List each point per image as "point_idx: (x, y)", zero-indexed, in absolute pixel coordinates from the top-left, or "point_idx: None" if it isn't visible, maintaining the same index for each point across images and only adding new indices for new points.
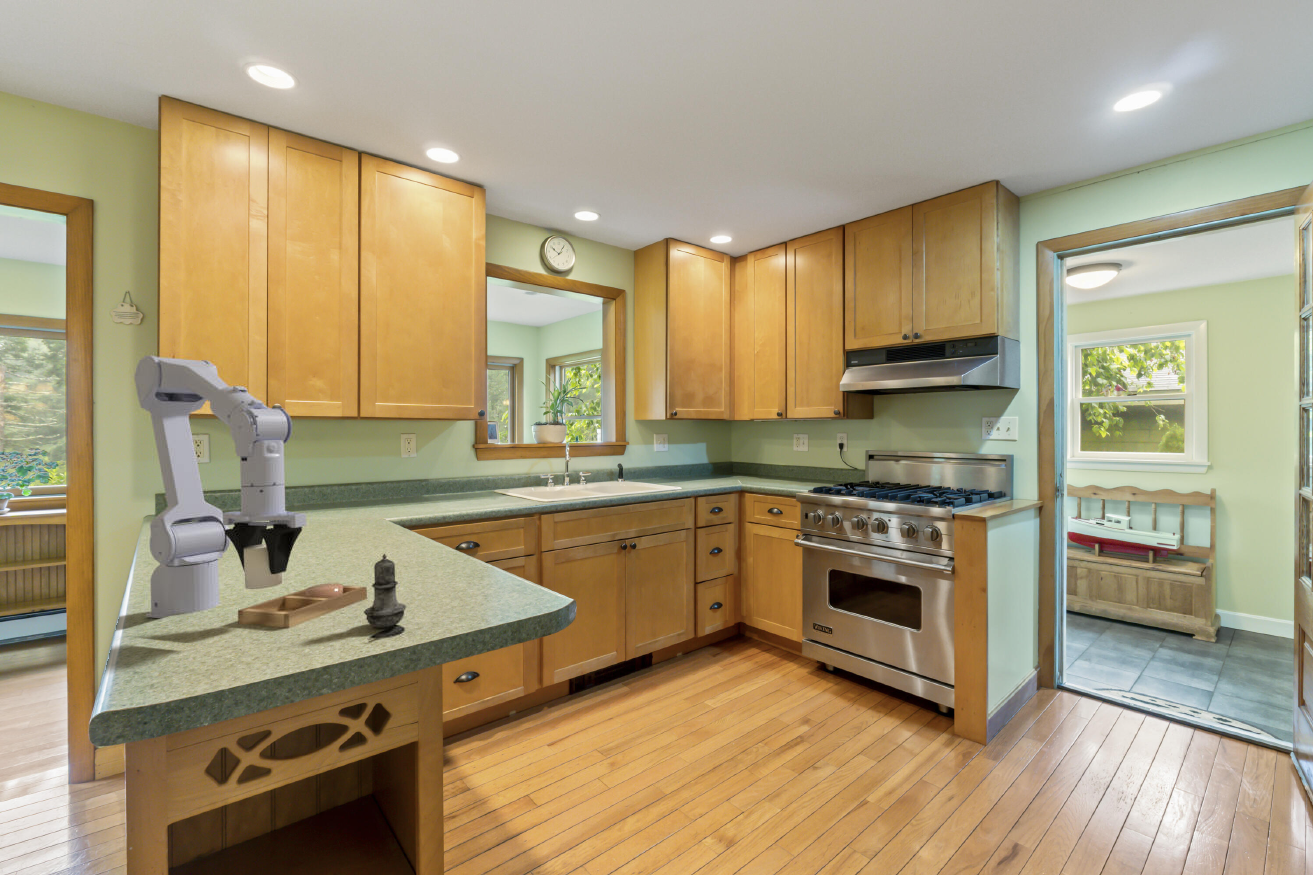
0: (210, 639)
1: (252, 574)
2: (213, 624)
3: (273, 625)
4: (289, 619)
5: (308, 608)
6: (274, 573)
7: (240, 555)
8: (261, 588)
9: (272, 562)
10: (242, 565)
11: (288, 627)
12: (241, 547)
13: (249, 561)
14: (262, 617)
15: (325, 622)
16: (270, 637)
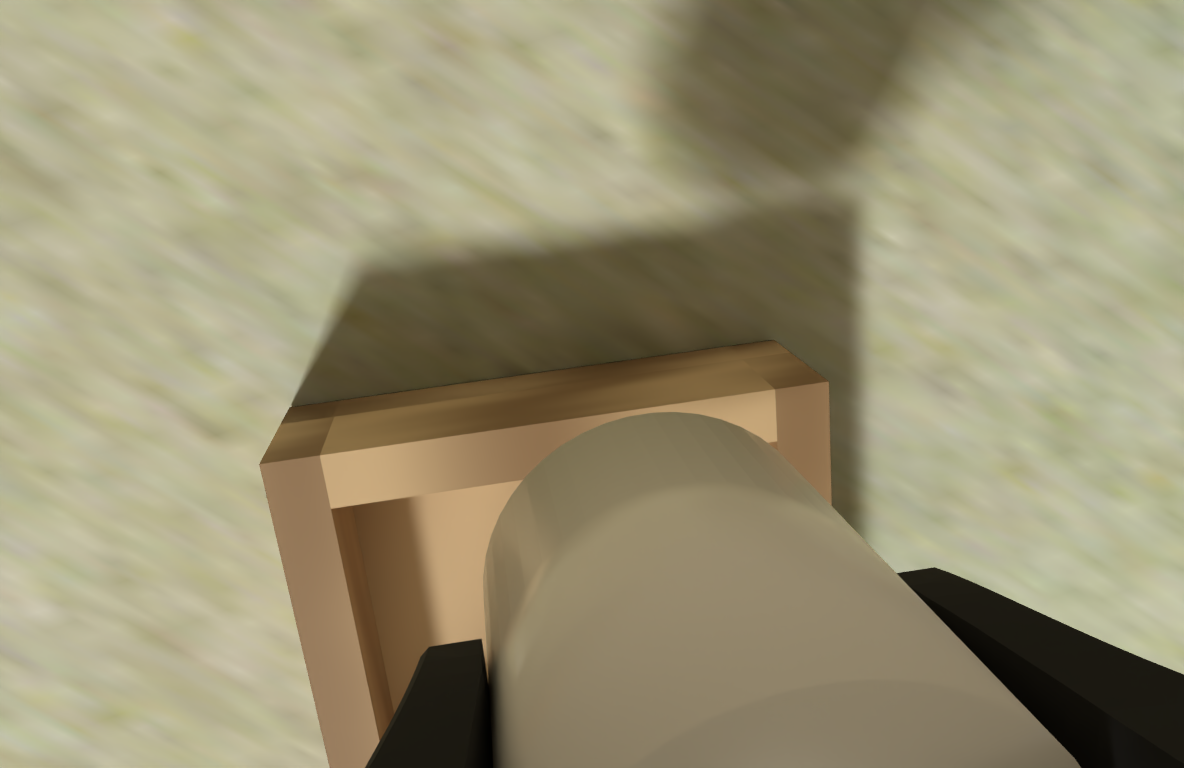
0: (759, 121)
1: (632, 493)
2: (1055, 346)
3: (440, 401)
4: (270, 450)
5: (300, 638)
6: (427, 654)
7: (1096, 663)
8: (528, 475)
9: (394, 729)
10: (986, 593)
11: (291, 422)
12: (1158, 755)
13: (721, 570)
14: (558, 405)
15: (302, 664)
16: (359, 309)
